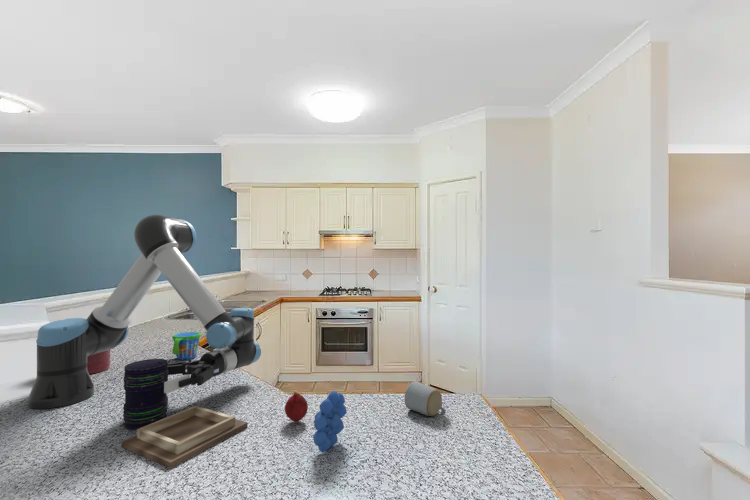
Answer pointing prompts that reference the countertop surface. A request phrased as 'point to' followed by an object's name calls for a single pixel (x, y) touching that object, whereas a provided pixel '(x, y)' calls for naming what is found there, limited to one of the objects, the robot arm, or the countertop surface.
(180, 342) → the snack cup
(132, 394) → the dark blue barrel
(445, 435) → the countertop surface
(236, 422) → the base board
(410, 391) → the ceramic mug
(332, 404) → the grapes
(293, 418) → the onion
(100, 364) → the canister
